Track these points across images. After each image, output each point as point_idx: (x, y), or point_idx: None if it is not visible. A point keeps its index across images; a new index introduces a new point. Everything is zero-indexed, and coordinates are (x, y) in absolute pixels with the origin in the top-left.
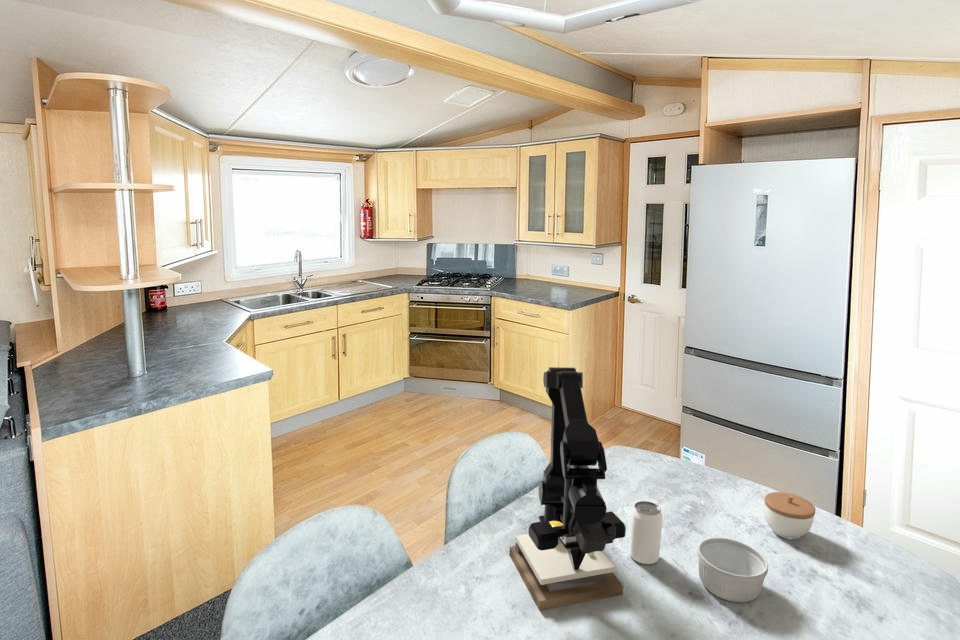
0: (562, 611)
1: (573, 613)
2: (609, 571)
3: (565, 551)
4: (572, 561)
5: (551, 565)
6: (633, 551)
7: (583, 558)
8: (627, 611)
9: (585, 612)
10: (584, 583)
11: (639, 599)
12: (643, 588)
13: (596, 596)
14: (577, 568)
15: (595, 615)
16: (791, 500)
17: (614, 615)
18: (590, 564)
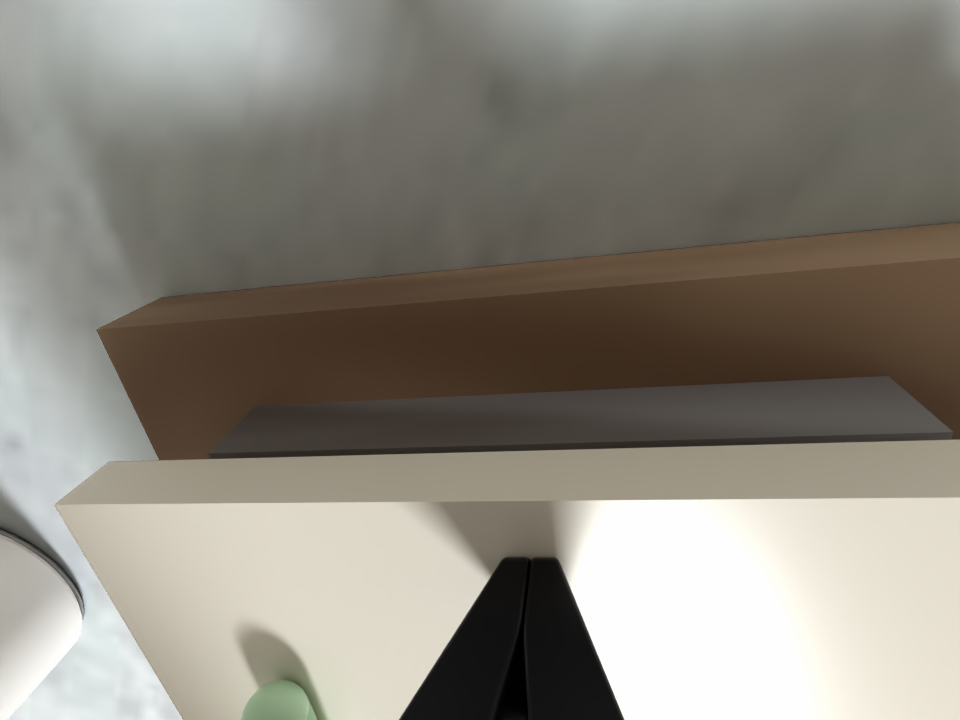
0: (784, 164)
1: (680, 118)
2: (147, 470)
3: None
4: (606, 698)
5: (831, 680)
6: (10, 628)
7: (401, 718)
8: (140, 78)
9: (547, 117)
10: (460, 407)
11: (33, 220)
12: (4, 333)
13: (380, 285)
14: (520, 568)
15: (459, 56)
16: None
17: (268, 32)
18: (327, 590)
